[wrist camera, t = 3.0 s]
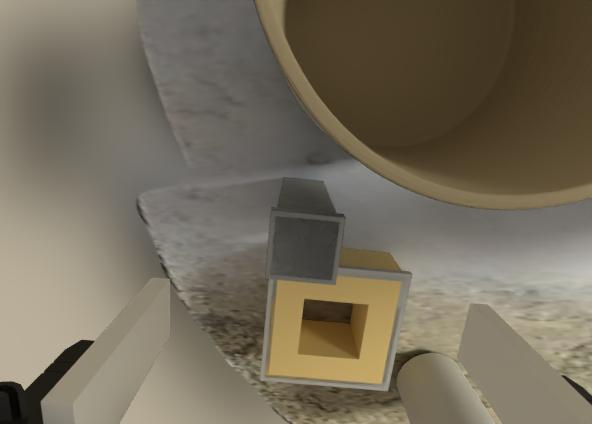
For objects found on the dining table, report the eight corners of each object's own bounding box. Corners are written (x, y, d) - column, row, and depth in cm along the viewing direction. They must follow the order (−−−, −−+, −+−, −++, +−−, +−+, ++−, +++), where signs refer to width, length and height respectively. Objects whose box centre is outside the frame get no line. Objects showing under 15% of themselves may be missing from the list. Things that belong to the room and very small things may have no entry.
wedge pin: (281, 174, 34) (270, 210, 21) (326, 178, 34) (345, 217, 21) (277, 217, 36) (265, 278, 22) (321, 221, 36) (335, 285, 22)
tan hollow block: (274, 238, 36) (270, 261, 30) (393, 249, 36) (412, 274, 31) (265, 342, 40) (260, 380, 34) (374, 351, 40) (387, 391, 34)
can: (437, 336, 39) (495, 427, 28) (468, 380, 41) (536, 483, 29) (382, 368, 41) (416, 468, 29) (414, 410, 42) (459, 520, 31)
